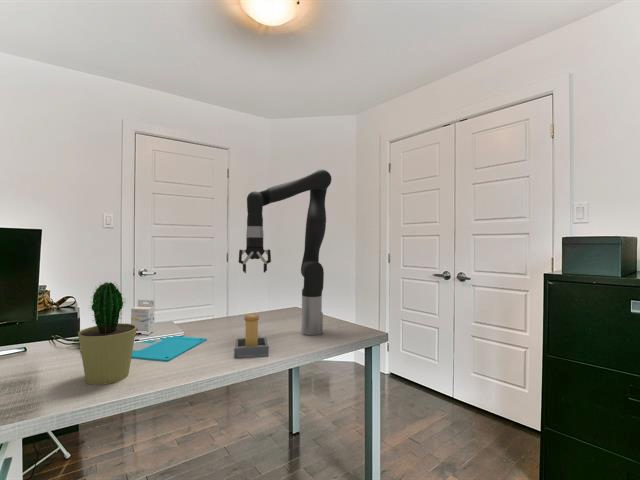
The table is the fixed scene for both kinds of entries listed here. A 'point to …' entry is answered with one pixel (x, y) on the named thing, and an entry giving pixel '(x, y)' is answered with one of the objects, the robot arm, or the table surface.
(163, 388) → the table surface
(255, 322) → the tan capped post
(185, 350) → the teal flat board
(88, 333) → the potted cactus
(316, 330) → the robot arm
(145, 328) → the ink cartridge box
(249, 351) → the housing
